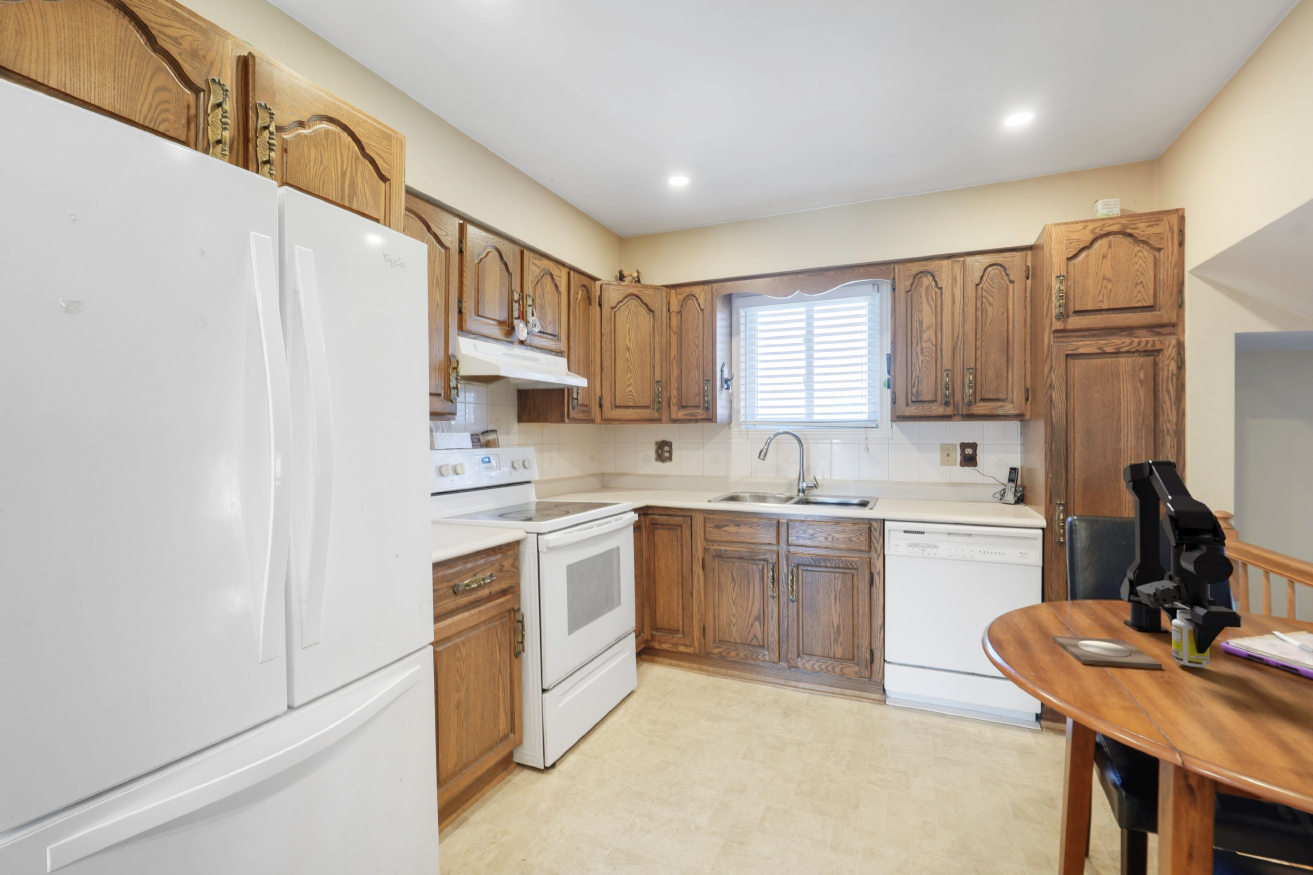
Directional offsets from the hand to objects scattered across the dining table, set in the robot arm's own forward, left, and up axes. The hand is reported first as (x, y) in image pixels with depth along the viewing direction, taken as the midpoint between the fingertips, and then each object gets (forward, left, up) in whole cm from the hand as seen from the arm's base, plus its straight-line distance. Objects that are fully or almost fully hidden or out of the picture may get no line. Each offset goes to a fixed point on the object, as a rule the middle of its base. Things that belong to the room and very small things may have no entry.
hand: (1190, 647), depth 118 cm
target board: (-5, -13, -4) cm, 14 cm away
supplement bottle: (0, 0, -3) cm, 3 cm away
